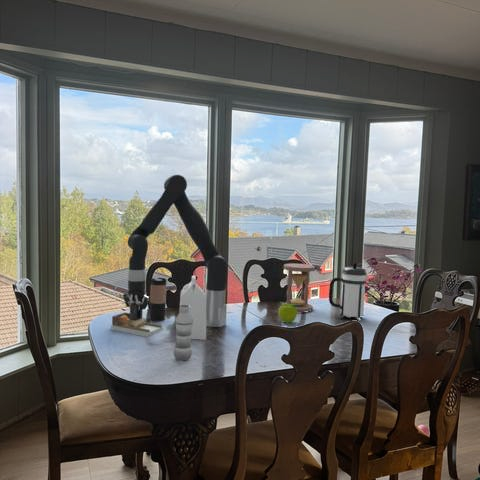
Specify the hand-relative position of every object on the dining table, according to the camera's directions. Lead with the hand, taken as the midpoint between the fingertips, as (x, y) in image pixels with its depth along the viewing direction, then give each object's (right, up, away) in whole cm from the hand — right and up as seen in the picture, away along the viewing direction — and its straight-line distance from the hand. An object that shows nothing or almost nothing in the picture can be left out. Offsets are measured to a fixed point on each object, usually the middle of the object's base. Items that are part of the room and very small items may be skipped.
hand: (136, 317), depth 208 cm
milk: (+26, -7, -5) cm, 27 cm away
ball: (-6, -2, +3) cm, 7 cm away
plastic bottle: (+25, -10, -36) cm, 45 cm away
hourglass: (+79, -5, +55) cm, 96 cm away
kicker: (0, -4, 0) cm, 4 cm away
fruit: (+70, -7, +25) cm, 75 cm away
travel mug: (+6, -5, +19) cm, 21 cm away
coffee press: (+105, -7, +40) cm, 112 cm away
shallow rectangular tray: (0, -6, 0) cm, 6 cm away
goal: (-7, -4, +3) cm, 8 cm away
